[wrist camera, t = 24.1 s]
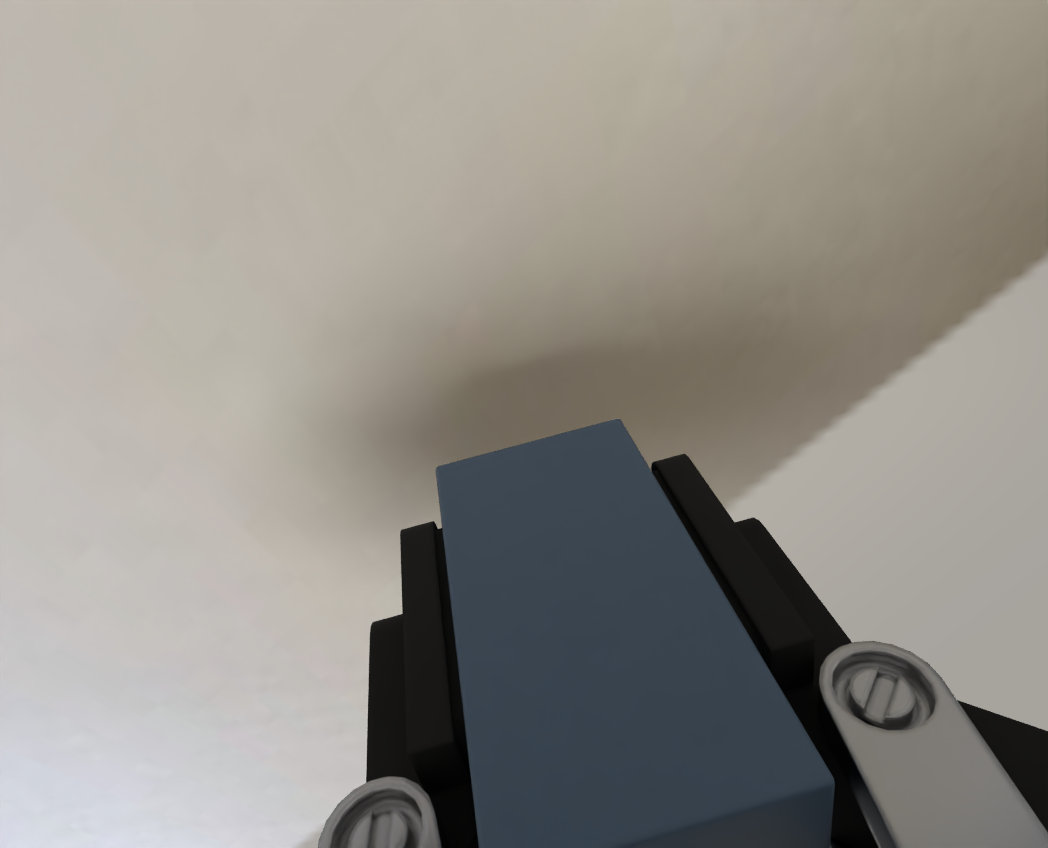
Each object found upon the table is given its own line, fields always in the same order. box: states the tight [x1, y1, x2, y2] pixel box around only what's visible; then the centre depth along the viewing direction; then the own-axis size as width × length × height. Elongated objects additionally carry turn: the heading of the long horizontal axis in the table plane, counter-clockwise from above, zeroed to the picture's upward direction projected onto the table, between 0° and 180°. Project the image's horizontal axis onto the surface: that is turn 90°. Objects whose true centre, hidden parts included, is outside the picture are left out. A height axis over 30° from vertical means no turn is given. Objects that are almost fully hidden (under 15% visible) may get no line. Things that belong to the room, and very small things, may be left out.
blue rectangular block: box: [436, 419, 835, 848], centre depth 9 cm, size 3×3×6 cm
